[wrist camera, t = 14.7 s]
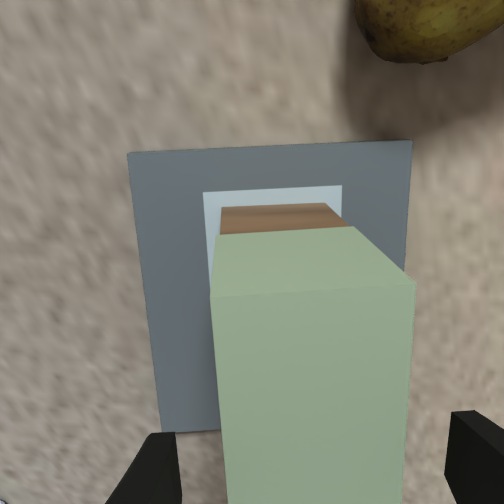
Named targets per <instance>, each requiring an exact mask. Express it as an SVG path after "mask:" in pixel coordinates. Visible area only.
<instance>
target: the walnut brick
mask: <svg viewBox="0 0 504 504" xmlns="http://www.w3.org/2000/svg"><path fill="white" fill-rule="evenodd" d="M334 227H350V226H349V225H348V224H347V223H346V222H345V221H344V220H343V219H342V218H341V217H340V216H339V215H338V214H337V213H335V212H334V211H333V210H332V209H331V208H330V207H329V206H328V205H327V204H326V203H325V202H324V203H301V204H278V205H255V206H232V207H222V208H221V224H220V235H225V234H240V233H256V232H272V231H287V230H303V229H319V228H334Z"/></svg>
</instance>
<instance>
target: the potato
mask: <svg viewBox="0 0 504 504" xmlns="http://www.w3.org/2000/svg"><path fill="white" fill-rule="evenodd" d="M354 12H355V17H356V21H357V25H358V27H359V29H360V31H361V33H362V35H363V36H364V38H365V39H366V41H367V43H368V44H369V46H370V47H371V49H372V51H373V52H374V53H375V54H376V55H377V56H378V57H380V58H382V59H383V60H385V61H391V62H395V63H419V64H422V65H423V64H428V63H432V62H436V61H439V62H444V61H446V60H447V58H448V56H449V55H451V54H454V53H456V52H458V51H460V50H462V49H464V48H466V47H467V46H469V45H471V44H473V43H474V42H476V41H478V40H479V39H481V38H482V37H484V36H486V35H487V34H489V33H491V32H492V31H494V30H495V29H497V28H498V27H499V26H501V25H502V24H504V0H355V8H354Z"/></svg>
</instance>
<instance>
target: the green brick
mask: <svg viewBox="0 0 504 504" xmlns="http://www.w3.org/2000/svg"><path fill="white" fill-rule="evenodd" d="M415 298H416V283H415V282H414V281H413V280H412V279H411V278H410V277H409V276H408V275H407V274H406V273H404V272H403V271H402V270H401V269H400V268H399V267H398V266H397V265H396V264H395V263H393V262H392V261H391V260H390V259H389V258H388V257H387V256H386V255H385V254H384V253H383V252H381V251H380V250H379V249H378V248H377V247H376V246H375V245H374V244H373V243H372V242H370V241H369V240H368V239H367V238H366V237H365V236H364V235H363V234H362V233H361V232H359V231H358V230H357V229H356V228H355V227H354V226H350V227H334V228H319V229H303V230H287V231H272V232H256V233H240V234H225V235H216V238H215V249H214V259H213V270H212V281H211V291H210V305H211V316H212V327H213V339H214V350H215V361H216V373H217V384H218V395H219V407H220V418H221V429H222V441H223V452H224V463H225V475H226V486H227V497H228V504H401V501H402V486H403V472H404V457H405V443H406V428H407V414H408V399H409V385H410V370H411V356H412V341H413V327H414V312H415Z"/></svg>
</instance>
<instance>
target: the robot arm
mask: <svg viewBox="0 0 504 504" xmlns="http://www.w3.org/2000/svg"><path fill="white" fill-rule="evenodd" d="M444 475H445V478H446V480H447V482H448V485H449V487H450V489H451V492H452V494H453V496H454V498H455V501H456V503H457V504H504V429H502V428H501V427H499V426H498V425H497V424H495V423H494V422H492V421H491V420H489V419H488V418H486V417H484V416H483V415H481V414H480V413H478V412H476V411H475V410H471V411H457V412H451V420H450V429H449V437H448V446H447V454H446V463H445V471H444ZM0 504H5V503H4V502H3V501H1V500H0ZM105 504H182V489H181V480H180V472H179V463H178V454H177V446H176V437H175V432H161V433H151V434H150V435H149V436H148V437H147V438H146V440H145V442H144V443H143V445H142V447H141V449H140V450H139V452H138V454H137V455H136V457H135V459H134V460H133V462H132V464H131V465H130V467H129V468H128V470H127V471H126V473H125V475H124V476H123V478H122V479H121V481H120V482H119V484H118V485H117V487H116V488H115V490H114V491H113V493H112V494H111V496H110V497H109V498H108V500H107V501H106V503H105Z"/></svg>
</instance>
